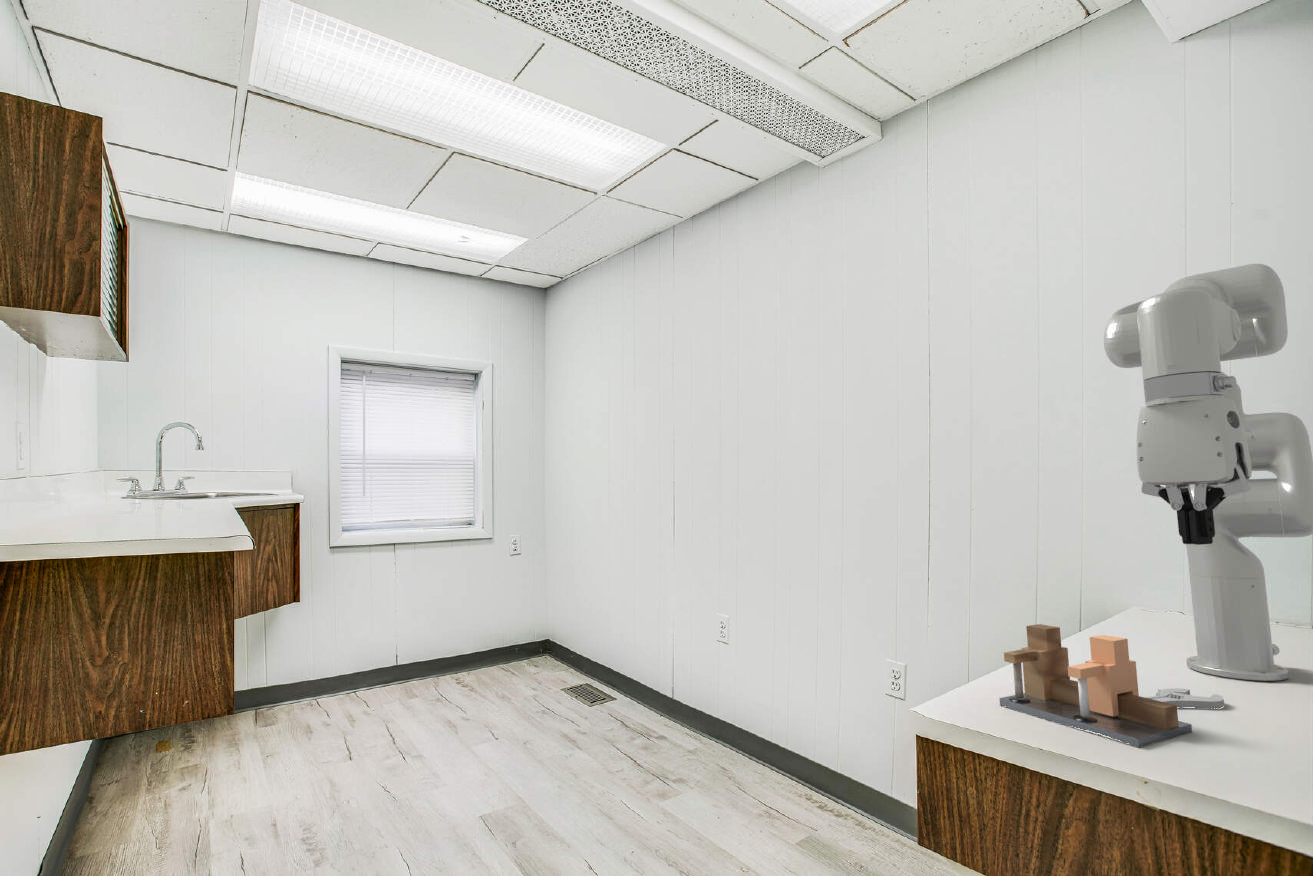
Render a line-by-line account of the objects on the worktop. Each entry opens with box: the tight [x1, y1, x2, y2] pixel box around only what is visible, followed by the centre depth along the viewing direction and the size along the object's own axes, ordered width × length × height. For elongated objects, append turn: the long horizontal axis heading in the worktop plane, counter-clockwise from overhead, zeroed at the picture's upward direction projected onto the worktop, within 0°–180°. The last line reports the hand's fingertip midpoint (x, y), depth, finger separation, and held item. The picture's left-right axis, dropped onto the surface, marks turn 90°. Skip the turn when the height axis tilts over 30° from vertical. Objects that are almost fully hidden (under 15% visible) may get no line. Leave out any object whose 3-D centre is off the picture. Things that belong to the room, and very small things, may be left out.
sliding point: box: [1068, 634, 1140, 717], centre depth 84 cm, size 10×3×9 cm, turn 115°
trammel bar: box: [1003, 623, 1179, 730], centre depth 86 cm, size 10×18×10 cm, turn 25°
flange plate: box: [998, 692, 1193, 749], centre depth 86 cm, size 11×18×1 cm, turn 25°
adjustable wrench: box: [1144, 687, 1225, 710], centre depth 90 cm, size 25×6×2 cm, turn 100°
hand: (1197, 543), depth 78 cm, fingers closed
